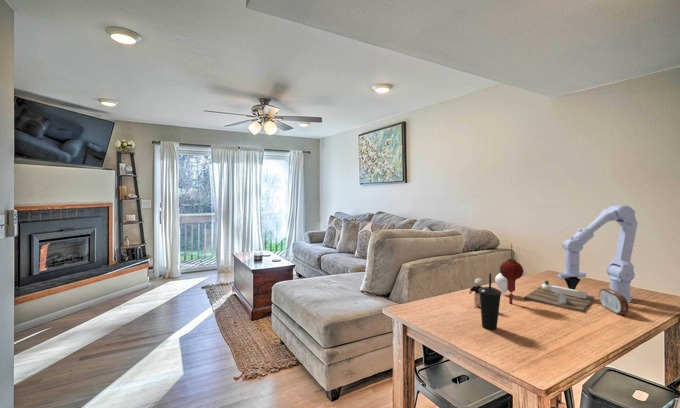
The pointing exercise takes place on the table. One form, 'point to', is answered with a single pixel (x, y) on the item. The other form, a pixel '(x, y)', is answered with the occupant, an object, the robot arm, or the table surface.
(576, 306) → the pivot board
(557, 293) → the block
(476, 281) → the grandmother figurine
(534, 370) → the table surface
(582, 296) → the pivot bar
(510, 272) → the lantern
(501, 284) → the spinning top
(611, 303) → the tin
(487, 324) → the drinking cup
